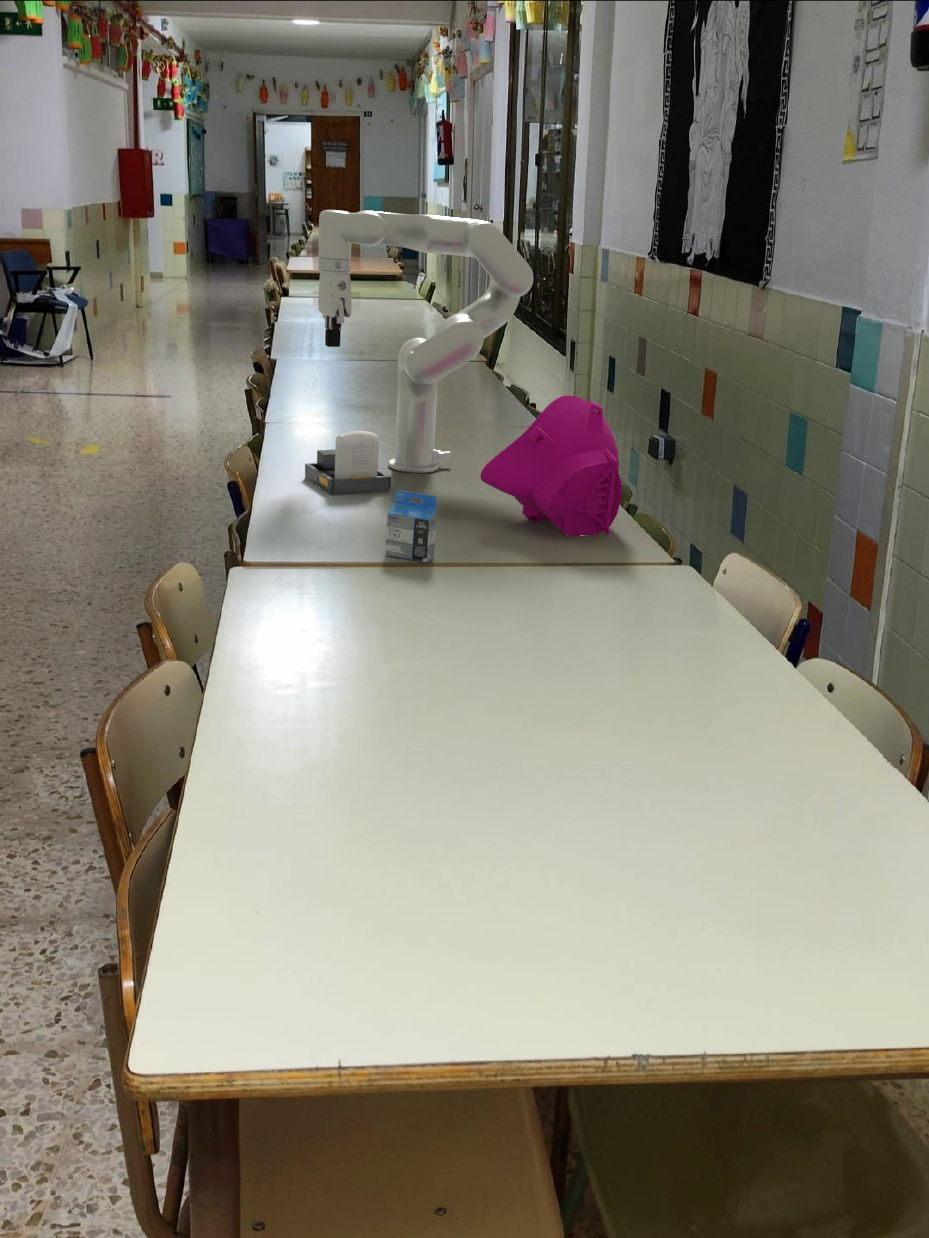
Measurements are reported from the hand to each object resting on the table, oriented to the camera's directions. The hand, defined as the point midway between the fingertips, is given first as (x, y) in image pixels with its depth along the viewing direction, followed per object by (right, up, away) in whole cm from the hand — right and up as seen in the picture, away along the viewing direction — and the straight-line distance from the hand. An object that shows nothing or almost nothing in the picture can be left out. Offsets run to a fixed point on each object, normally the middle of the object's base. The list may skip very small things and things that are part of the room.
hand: (332, 346), depth 286 cm
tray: (+4, -34, -6) cm, 34 cm away
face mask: (+50, -46, -30) cm, 74 cm away
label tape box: (+21, -53, -56) cm, 80 cm away
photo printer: (+6, -34, -9) cm, 36 cm away
